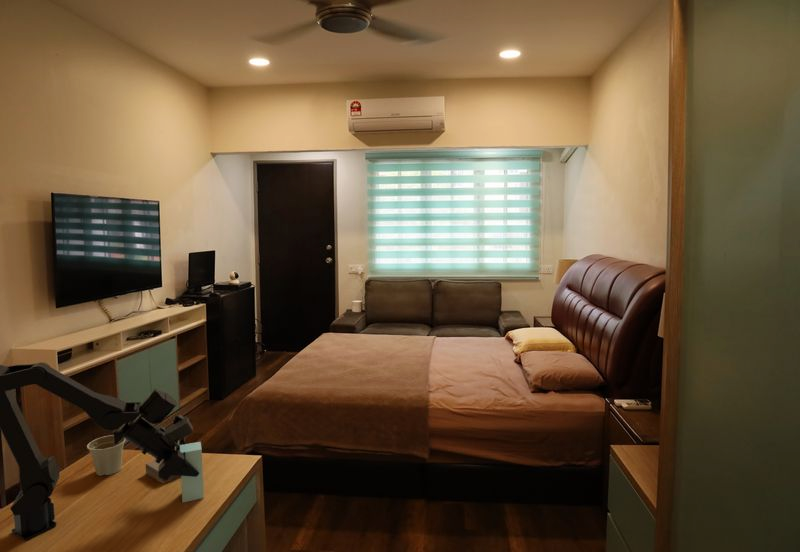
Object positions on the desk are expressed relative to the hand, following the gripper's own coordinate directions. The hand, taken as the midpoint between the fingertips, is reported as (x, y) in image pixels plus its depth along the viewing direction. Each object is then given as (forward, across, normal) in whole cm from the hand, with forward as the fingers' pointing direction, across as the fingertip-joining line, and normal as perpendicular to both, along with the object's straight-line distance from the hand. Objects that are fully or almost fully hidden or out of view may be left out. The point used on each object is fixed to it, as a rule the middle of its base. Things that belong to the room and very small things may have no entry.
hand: (197, 470), depth 126 cm
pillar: (+4, 0, +6) cm, 7 cm away
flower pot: (-11, +24, +21) cm, 34 cm away
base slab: (0, +16, +10) cm, 19 cm away
